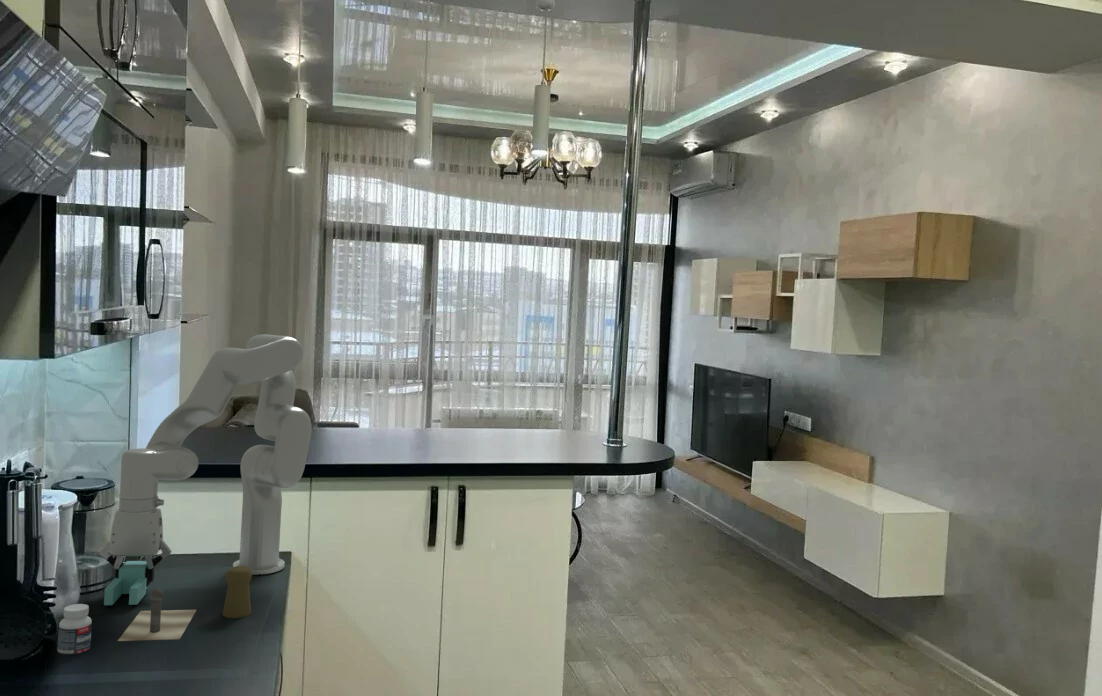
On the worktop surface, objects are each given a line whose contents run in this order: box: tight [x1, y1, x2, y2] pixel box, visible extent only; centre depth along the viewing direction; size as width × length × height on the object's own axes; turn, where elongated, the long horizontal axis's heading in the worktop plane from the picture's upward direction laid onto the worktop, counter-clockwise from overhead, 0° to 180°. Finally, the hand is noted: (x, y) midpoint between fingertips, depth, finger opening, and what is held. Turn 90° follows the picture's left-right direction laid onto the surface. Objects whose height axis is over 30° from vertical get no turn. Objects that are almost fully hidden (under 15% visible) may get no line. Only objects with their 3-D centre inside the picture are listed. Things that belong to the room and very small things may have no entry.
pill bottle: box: [56, 603, 93, 655], centre depth 147 cm, size 5×5×9 cm
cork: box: [222, 566, 253, 619], centre depth 169 cm, size 6×6×11 cm
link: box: [103, 560, 148, 606], centre depth 174 cm, size 13×6×6 cm, turn 13°
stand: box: [117, 588, 197, 642], centre depth 160 cm, size 16×11×10 cm
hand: (134, 584), depth 177 cm, fingers closed on link, 4 cm apart
